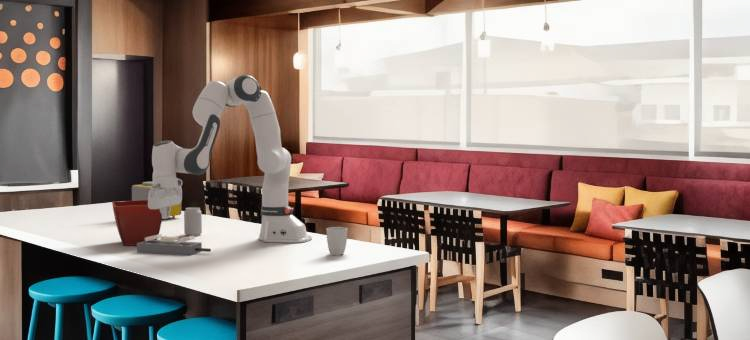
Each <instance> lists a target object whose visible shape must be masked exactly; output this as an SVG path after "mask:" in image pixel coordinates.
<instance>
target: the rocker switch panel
mask: <svg viewBox="0 0 750 340" xmlns="http://www.w3.org/2000/svg"><path fill="white" fill-rule="evenodd" d="M202 244H203V243H202V242H199V241H198V242H197V241H185V242H181V243H177V240H175V241H161V239H157V240H150V241H146V242H145V241H143V242H139V243H137V245H136V253H143V254H144V253H145V254H146V253H147V254H162V255H179V256H181V255H182V256H192V255H196V254H198V253H201V252H206V253H207V252H208V253H209V252H211V251H212V249H211V248H206V247H202Z"/></svg>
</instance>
